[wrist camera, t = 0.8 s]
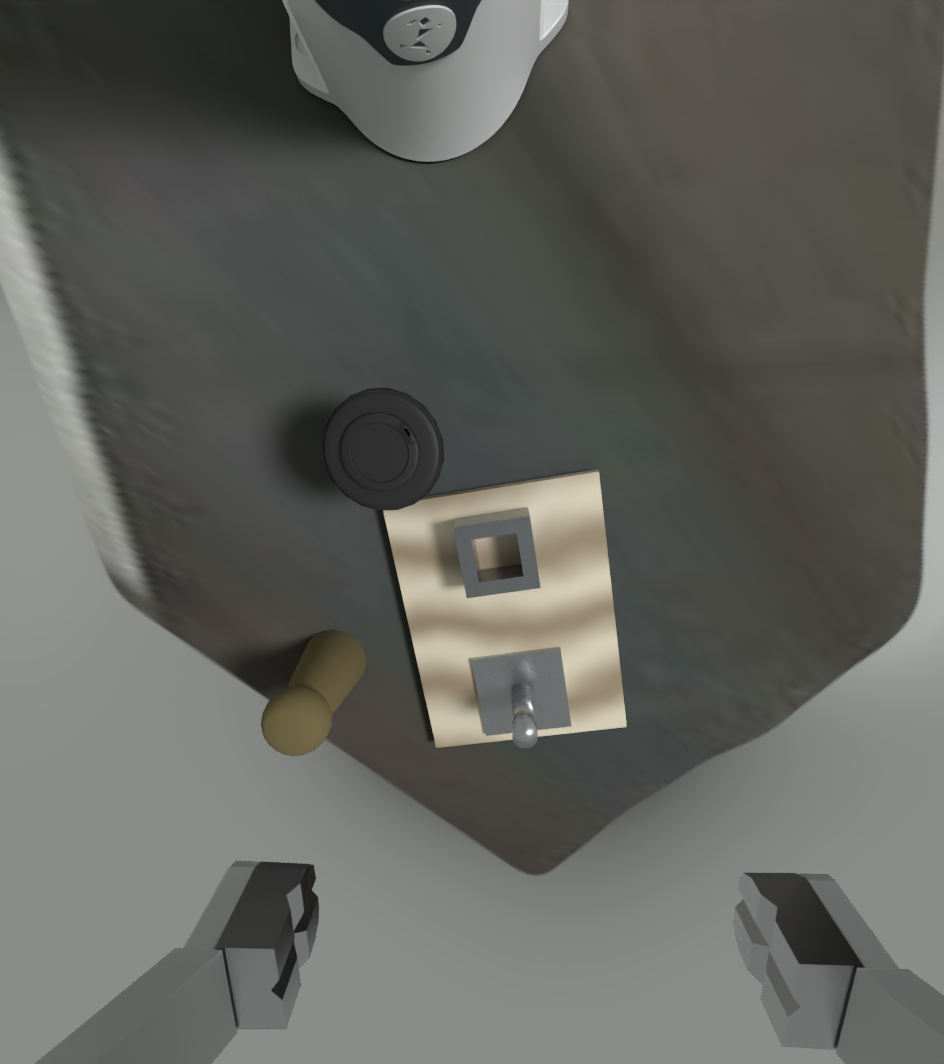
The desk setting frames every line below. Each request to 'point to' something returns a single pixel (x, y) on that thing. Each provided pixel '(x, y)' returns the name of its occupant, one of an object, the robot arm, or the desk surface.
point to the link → (498, 577)
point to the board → (511, 601)
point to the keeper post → (522, 693)
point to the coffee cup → (383, 449)
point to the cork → (313, 693)
